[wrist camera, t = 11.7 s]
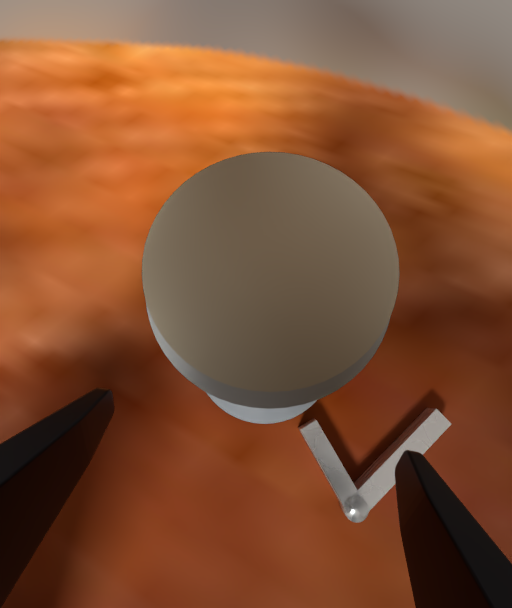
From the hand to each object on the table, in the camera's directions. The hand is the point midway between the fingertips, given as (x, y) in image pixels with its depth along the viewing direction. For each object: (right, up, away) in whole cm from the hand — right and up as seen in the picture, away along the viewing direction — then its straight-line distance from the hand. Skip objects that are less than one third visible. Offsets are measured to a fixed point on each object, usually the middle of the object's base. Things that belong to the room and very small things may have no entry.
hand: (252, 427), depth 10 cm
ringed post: (+1, +1, +8) cm, 9 cm away
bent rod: (+7, -4, +8) cm, 11 cm away
